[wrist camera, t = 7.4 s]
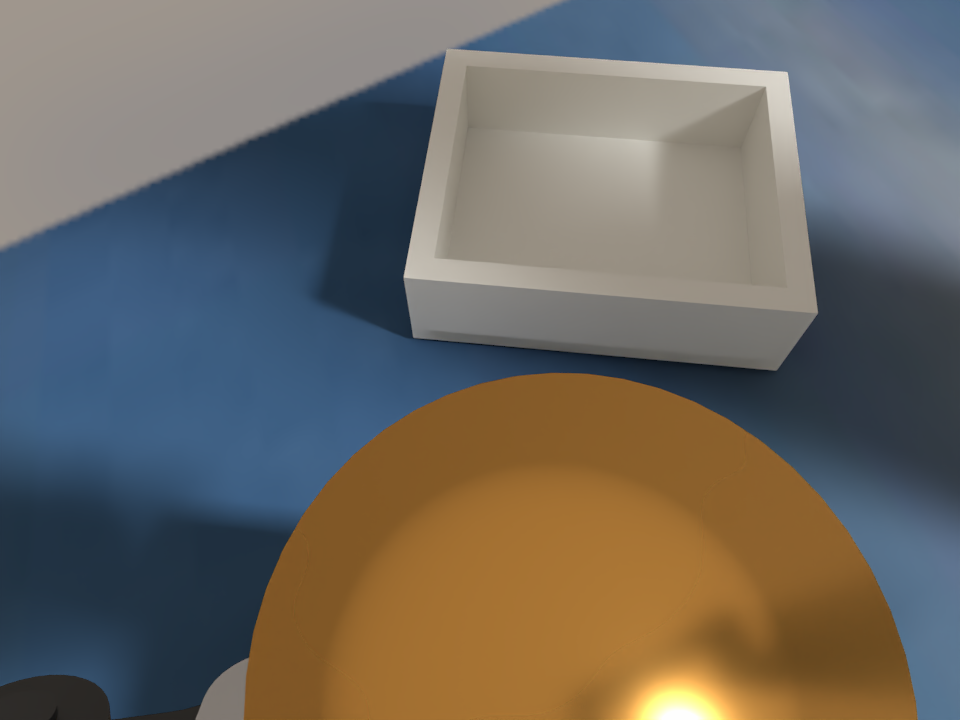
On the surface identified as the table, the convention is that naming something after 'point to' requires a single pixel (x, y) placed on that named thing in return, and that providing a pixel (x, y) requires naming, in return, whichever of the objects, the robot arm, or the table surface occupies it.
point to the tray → (612, 211)
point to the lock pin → (572, 573)
